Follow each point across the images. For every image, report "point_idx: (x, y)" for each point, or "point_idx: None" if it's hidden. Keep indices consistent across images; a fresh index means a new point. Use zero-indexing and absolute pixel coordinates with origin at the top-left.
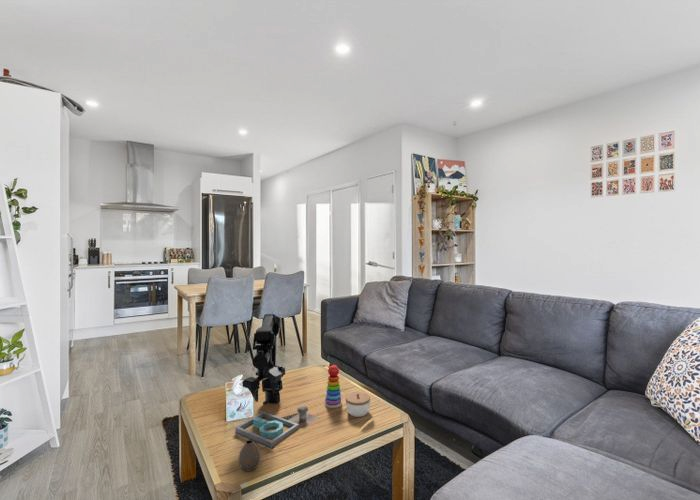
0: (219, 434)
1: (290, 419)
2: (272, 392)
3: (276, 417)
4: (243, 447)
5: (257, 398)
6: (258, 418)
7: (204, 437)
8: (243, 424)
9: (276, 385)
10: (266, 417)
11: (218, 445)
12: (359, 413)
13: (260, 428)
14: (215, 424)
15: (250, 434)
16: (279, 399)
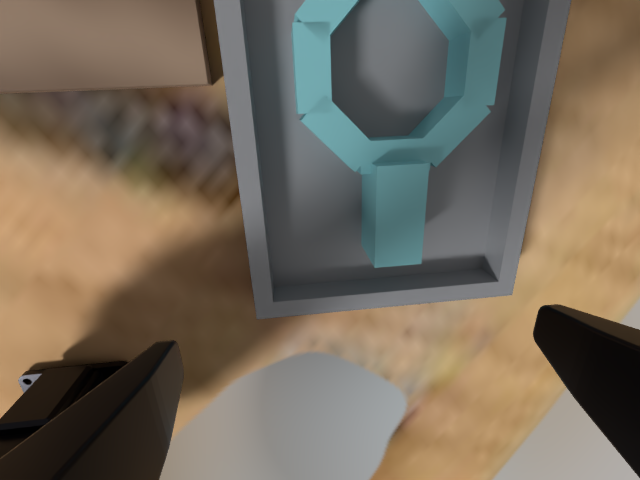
0: (524, 333)
1: (156, 71)
2: (182, 373)
3: (253, 165)
4: None
5: (617, 330)
6: (390, 243)
7: None
8: (461, 285)
9: (18, 461)
10: (271, 262)
11: (610, 251)
12: None
13: (464, 127)
14: (459, 419)
15: (538, 141)
16: (38, 382)
